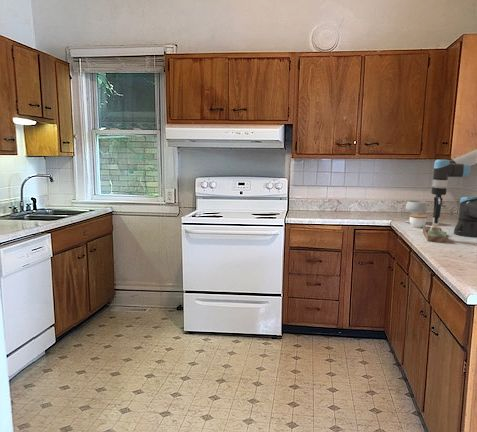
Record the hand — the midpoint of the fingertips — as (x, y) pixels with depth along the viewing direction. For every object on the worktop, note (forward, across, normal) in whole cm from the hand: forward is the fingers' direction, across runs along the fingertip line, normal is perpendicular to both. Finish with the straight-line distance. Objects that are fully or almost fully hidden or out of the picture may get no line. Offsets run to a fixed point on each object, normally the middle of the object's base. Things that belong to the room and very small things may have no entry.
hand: (435, 228), depth 241 cm
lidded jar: (+7, -39, -6) cm, 40 cm away
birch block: (+3, +3, 0) cm, 4 cm away
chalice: (+7, -57, -6) cm, 57 cm away
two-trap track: (+6, -5, 0) cm, 8 cm away
